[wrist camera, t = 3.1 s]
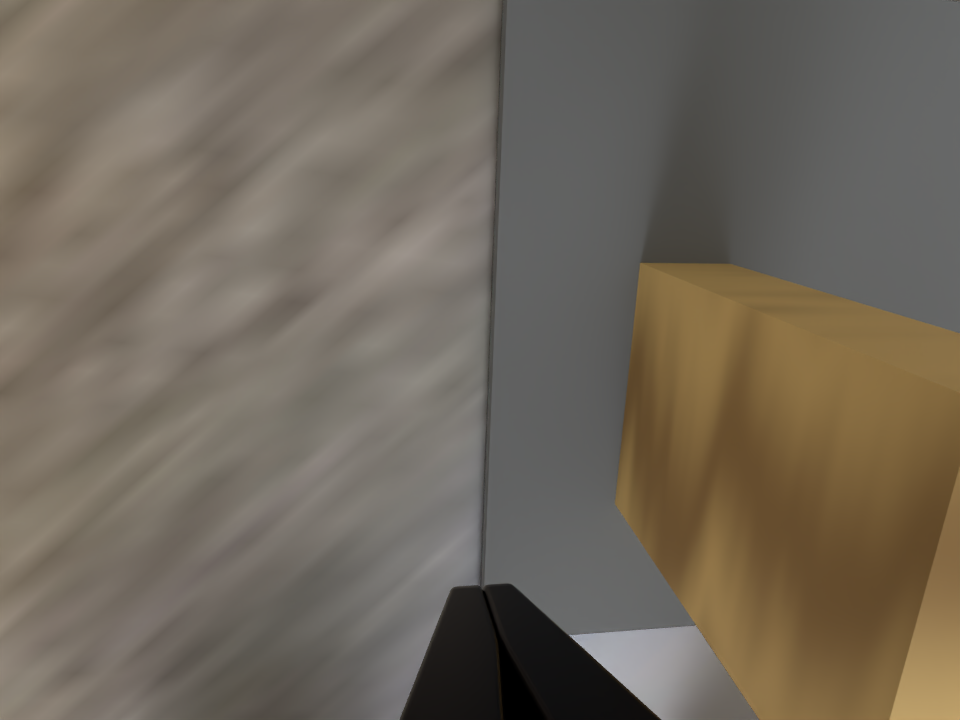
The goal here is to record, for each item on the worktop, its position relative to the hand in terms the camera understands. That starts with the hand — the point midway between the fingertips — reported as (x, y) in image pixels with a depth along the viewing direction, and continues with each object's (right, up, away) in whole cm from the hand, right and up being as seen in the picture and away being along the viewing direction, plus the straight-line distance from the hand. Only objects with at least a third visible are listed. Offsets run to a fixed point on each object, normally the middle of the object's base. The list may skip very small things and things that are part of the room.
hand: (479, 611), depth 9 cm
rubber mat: (+9, +4, +10) cm, 14 cm away
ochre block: (+5, +3, +9) cm, 11 cm away
